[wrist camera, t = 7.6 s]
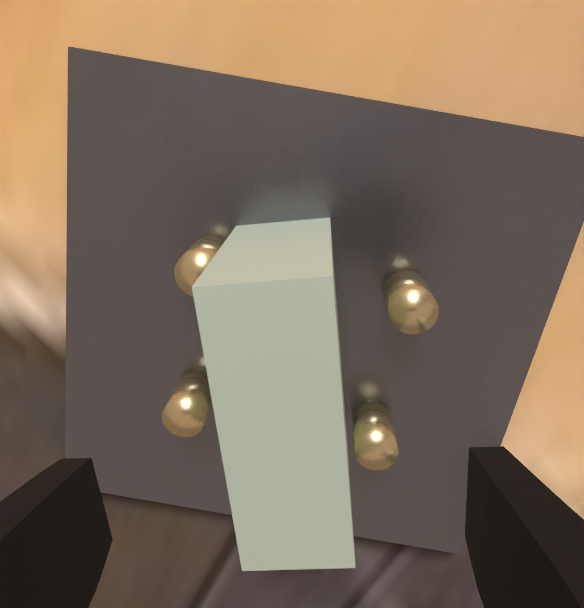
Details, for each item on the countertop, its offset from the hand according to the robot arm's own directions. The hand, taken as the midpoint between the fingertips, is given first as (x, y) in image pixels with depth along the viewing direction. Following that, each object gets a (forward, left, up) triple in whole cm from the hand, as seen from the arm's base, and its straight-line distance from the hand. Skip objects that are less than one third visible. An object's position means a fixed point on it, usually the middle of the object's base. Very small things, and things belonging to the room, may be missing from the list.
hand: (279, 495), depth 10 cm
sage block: (0, +1, -8) cm, 8 cm away
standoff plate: (0, +1, -9) cm, 9 cm away
